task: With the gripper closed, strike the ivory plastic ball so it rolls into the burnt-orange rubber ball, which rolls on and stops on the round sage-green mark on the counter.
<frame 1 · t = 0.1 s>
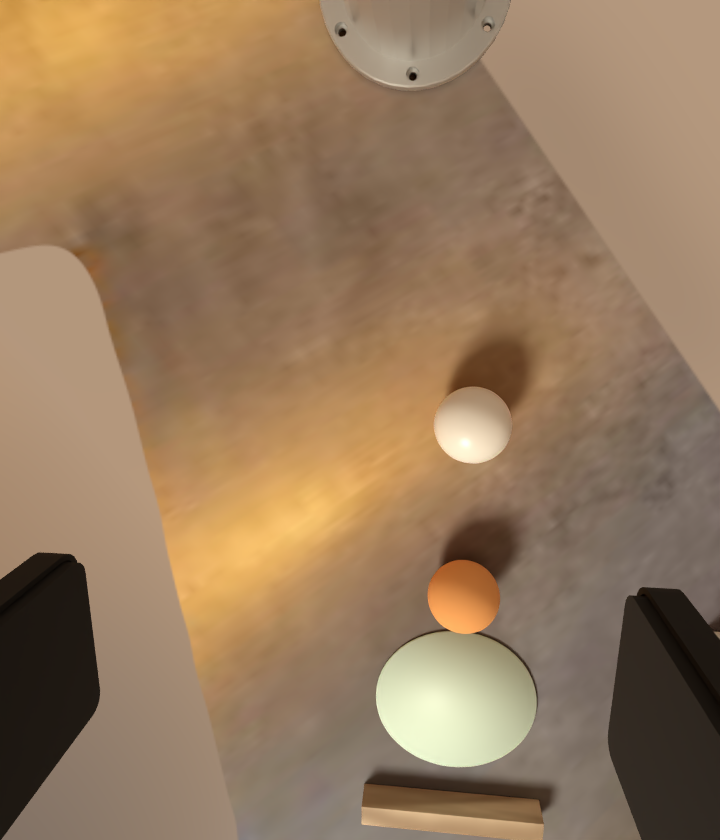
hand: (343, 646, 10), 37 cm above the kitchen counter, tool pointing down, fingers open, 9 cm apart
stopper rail: (449, 800, 56), on the kitchen counter
cue ball: (472, 424, 43), on the kitchen counter
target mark: (455, 700, 53), on the kitchen counter
object ball: (463, 596, 47), on the kitchen counter
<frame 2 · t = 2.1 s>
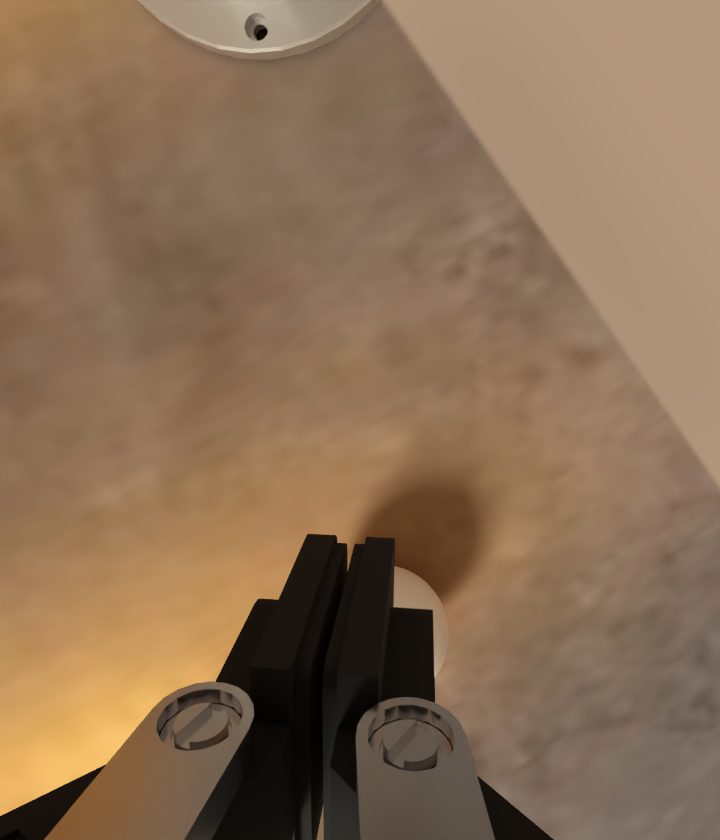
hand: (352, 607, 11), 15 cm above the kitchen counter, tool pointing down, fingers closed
cue ball: (383, 631, 26), on the kitchen counter
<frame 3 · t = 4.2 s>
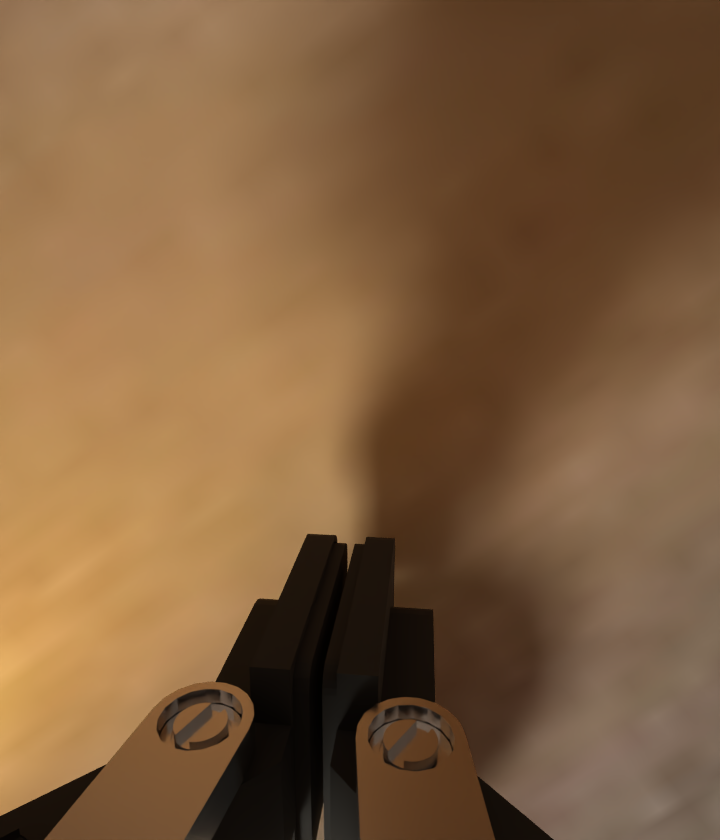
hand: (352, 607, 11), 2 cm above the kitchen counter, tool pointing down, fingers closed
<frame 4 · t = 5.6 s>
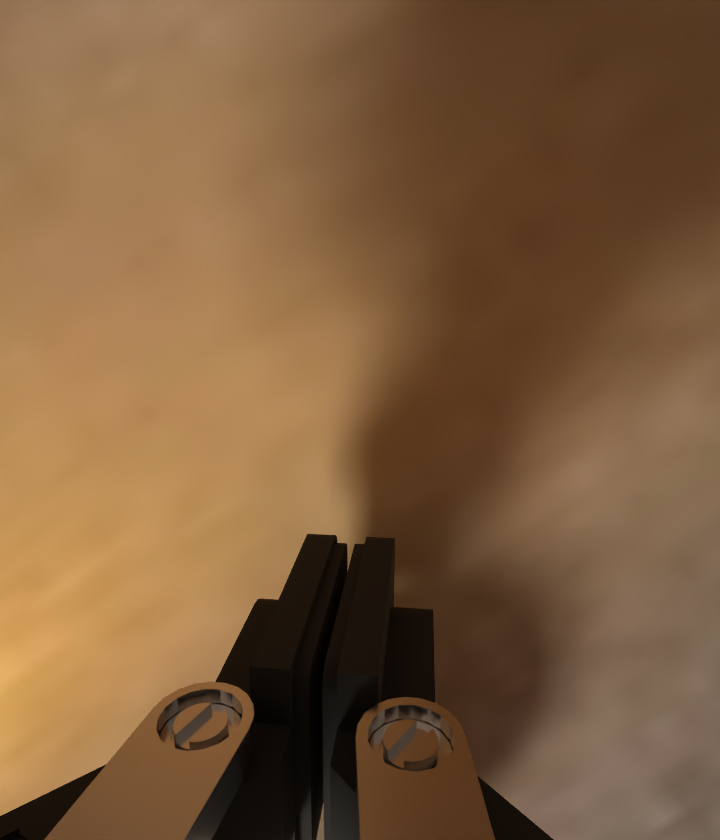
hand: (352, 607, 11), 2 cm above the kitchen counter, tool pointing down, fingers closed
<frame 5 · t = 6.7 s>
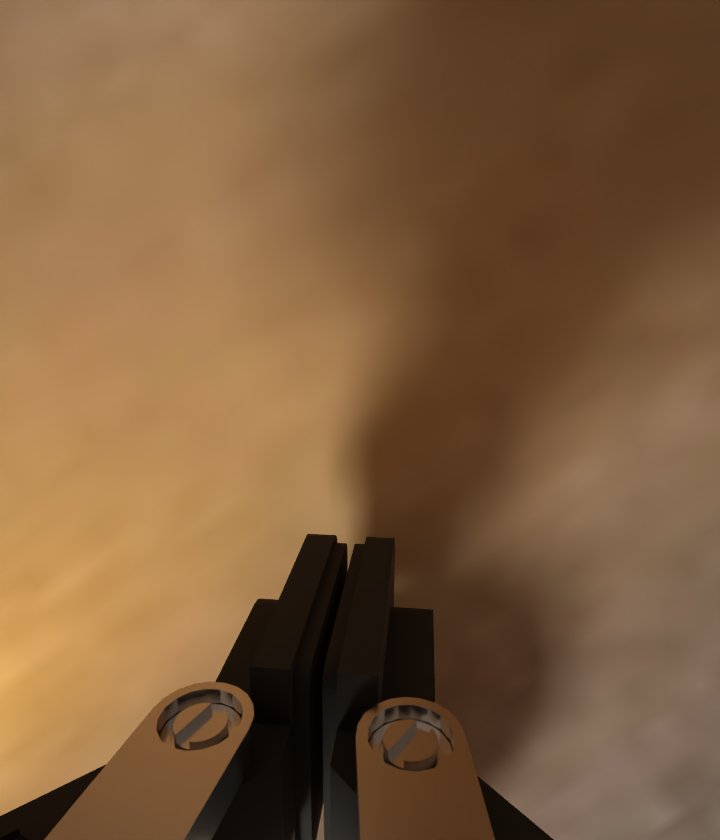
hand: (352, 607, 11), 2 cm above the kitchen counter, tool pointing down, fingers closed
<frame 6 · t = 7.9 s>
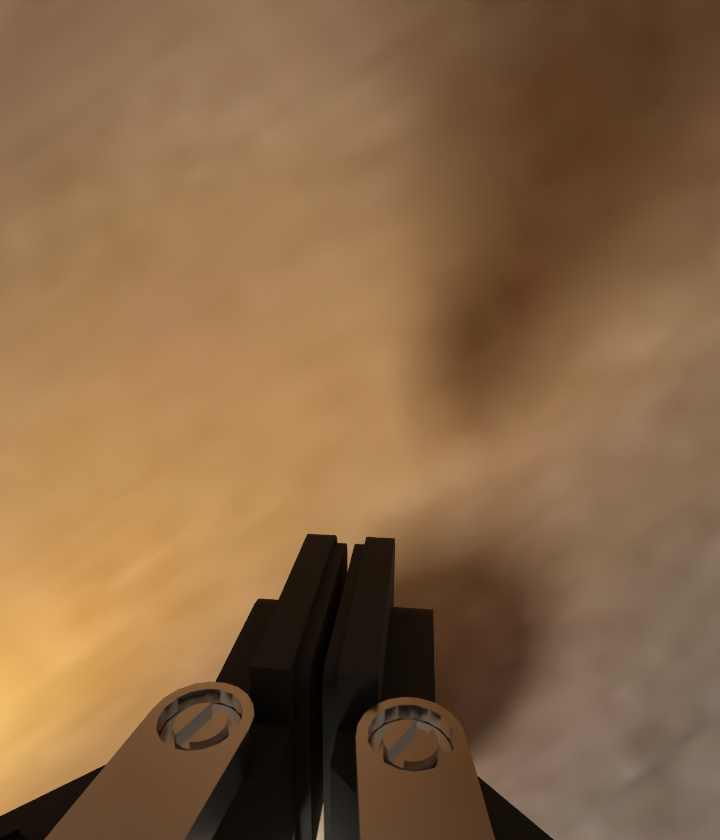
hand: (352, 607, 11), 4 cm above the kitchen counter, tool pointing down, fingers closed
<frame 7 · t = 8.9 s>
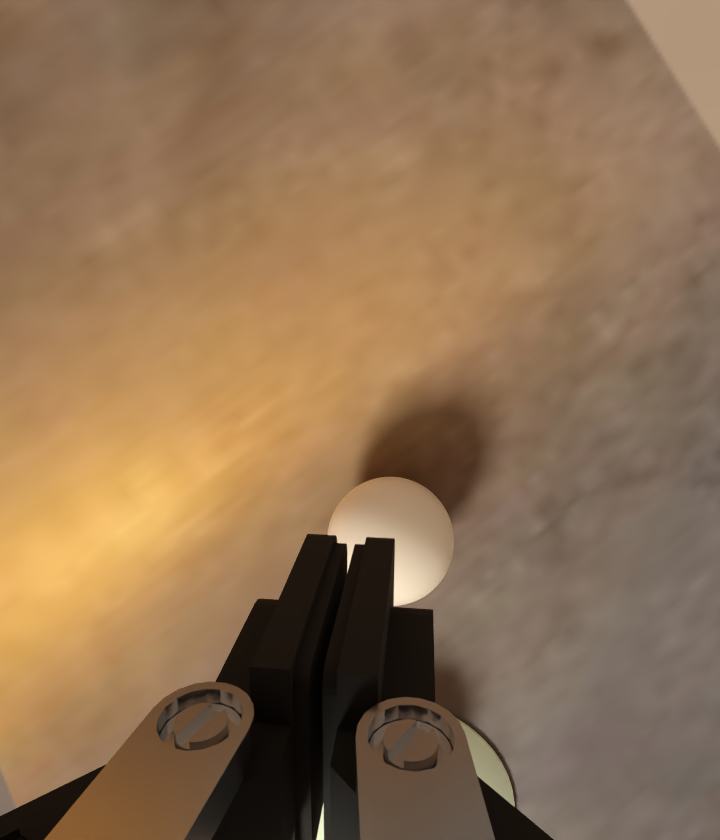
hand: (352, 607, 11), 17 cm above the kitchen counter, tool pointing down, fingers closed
cue ball: (390, 539, 26), on the kitchen counter
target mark: (387, 802, 34), on the kitchen counter
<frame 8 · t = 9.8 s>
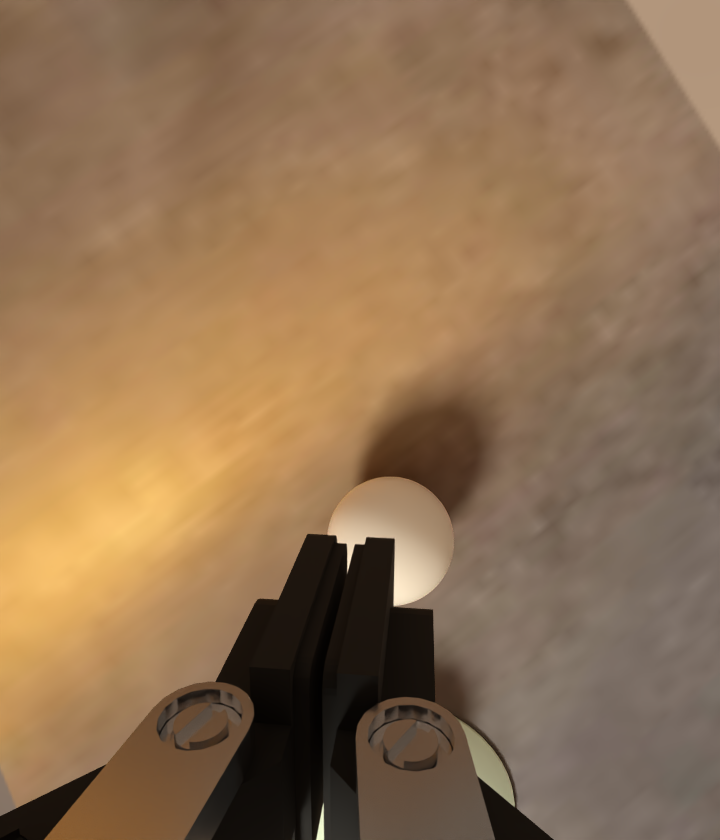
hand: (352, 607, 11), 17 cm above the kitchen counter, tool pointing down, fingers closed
cue ball: (390, 539, 26), on the kitchen counter
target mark: (387, 801, 34), on the kitchen counter
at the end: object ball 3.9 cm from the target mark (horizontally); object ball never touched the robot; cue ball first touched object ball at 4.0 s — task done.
